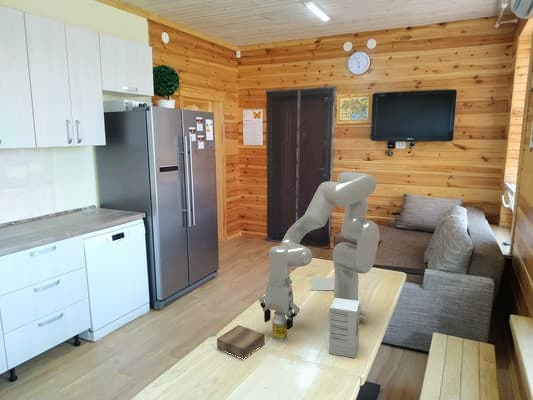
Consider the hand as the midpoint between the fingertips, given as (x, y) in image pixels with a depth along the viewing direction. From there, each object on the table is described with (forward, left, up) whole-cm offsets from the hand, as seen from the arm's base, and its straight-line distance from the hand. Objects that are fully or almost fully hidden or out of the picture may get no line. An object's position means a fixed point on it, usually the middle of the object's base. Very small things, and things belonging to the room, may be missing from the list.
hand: (278, 324), depth 142 cm
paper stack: (+3, -56, -6) cm, 56 cm away
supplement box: (-23, -7, -6) cm, 25 cm away
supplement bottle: (0, -1, -6) cm, 6 cm away
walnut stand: (+8, +12, -5) cm, 16 cm away
